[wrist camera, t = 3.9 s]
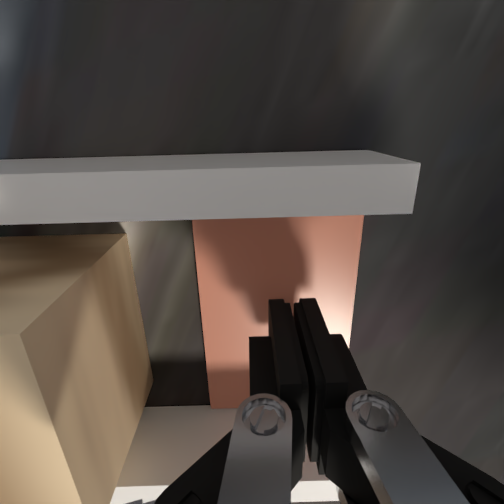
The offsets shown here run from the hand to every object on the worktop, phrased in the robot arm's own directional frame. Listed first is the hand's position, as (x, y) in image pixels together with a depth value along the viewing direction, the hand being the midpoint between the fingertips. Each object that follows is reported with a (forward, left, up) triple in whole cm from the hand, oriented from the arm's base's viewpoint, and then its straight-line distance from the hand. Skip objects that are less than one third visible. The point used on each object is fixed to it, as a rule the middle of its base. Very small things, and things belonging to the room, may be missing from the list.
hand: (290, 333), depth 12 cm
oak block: (+8, 0, -2) cm, 9 cm away
